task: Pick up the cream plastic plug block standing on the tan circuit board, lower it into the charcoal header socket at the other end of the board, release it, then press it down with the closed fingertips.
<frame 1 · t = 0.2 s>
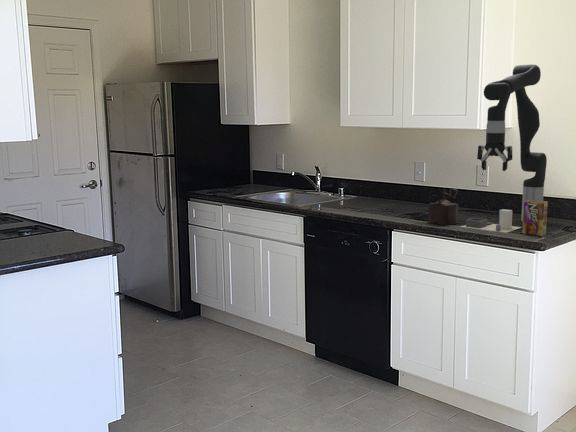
hand: (494, 170, 275), 28 cm above the worktop, fingers open, 8 cm apart
manual coffee grinder: (446, 224, 310), on the worktop
board: (490, 229, 295), on the worktop
plug: (505, 227, 292), point 1 cm above the worktop, touching board
candy box: (533, 236, 279), on the worktop
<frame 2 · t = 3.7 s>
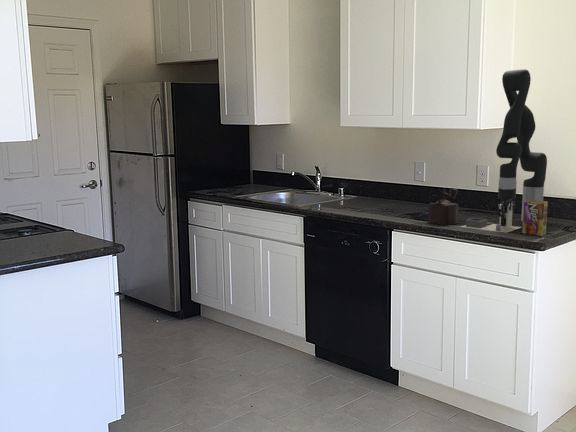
hand: (505, 225, 292), 2 cm above the worktop, fingers closed on plug, 4 cm apart
plug: (505, 227, 292), point 1 cm above the worktop, touching board, gripper
everything else where it was.
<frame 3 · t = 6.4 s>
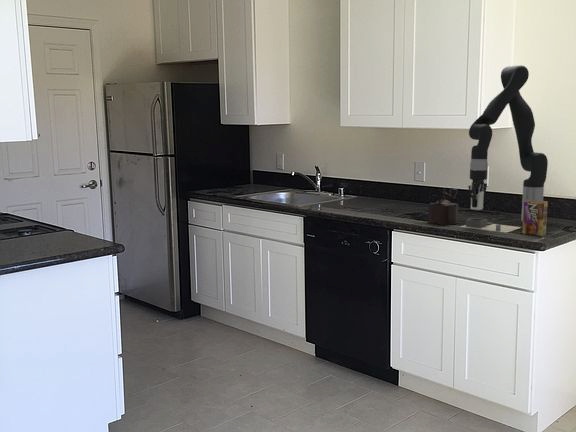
hand: (476, 206, 296), 10 cm above the worktop, fingers closed on plug, 4 cm apart
plug: (476, 209, 296), point 9 cm above the worktop, touching gripper
everything else where it was.
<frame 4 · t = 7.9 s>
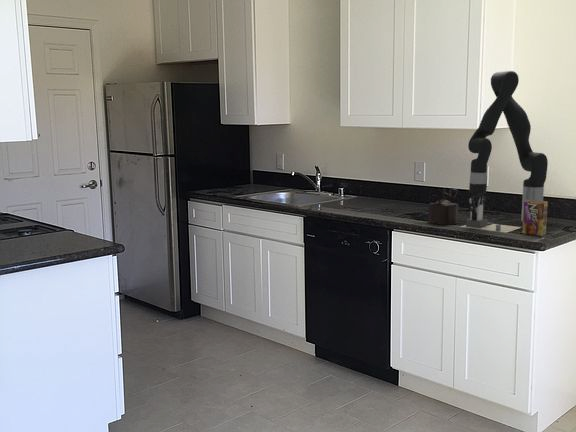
hand: (476, 219, 297), 4 cm above the worktop, fingers closed on plug, 4 cm apart
plug: (476, 222, 297), point 3 cm above the worktop, touching gripper
everything else where it was.
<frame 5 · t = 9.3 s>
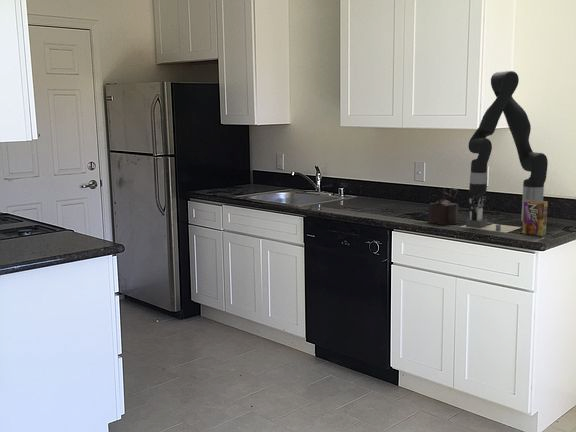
hand: (476, 219, 297), 4 cm above the worktop, fingers closed on board, plug, 4 cm apart
plug: (475, 225, 297), point 1 cm above the worktop, touching gripper
everything else where it was.
when the fingers open (4 cm above the worktop, at t = 9.9 s): plug stays where it is, resting on board.
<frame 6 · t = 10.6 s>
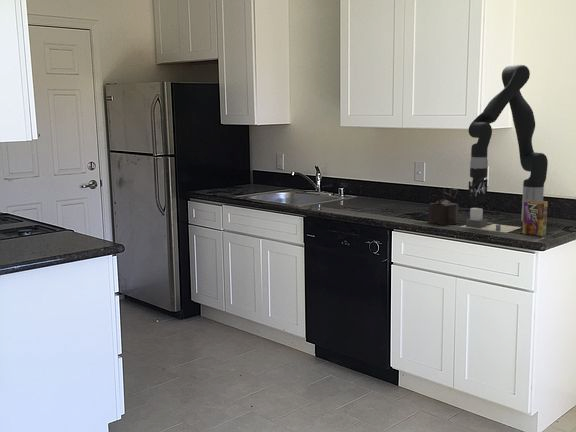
hand: (477, 202, 295), 12 cm above the worktop, fingers open, 7 cm apart
plug: (476, 226, 297), point 1 cm above the worktop, touching board
everything else where it was.
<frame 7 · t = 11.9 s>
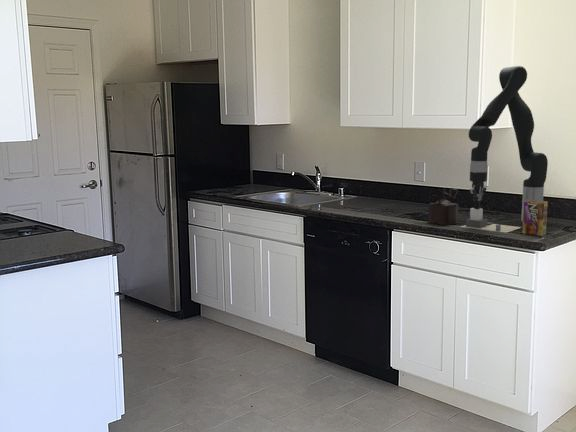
hand: (476, 208, 296), 9 cm above the worktop, fingers closed
plug: (476, 226, 297), point 1 cm above the worktop, touching board, gripper
everything else where it was.
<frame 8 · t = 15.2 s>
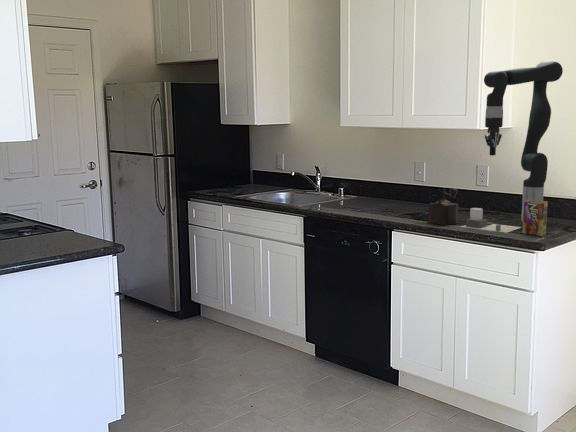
hand: (492, 155, 295), 33 cm above the worktop, fingers closed
plug: (476, 226, 297), point 1 cm above the worktop, touching board
everything else where it was.
at the end: plug 0.2 cm from the target spot on the board, point 1.0 cm above the board's base; plug tilted 0°; the gripper is holding nothing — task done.
